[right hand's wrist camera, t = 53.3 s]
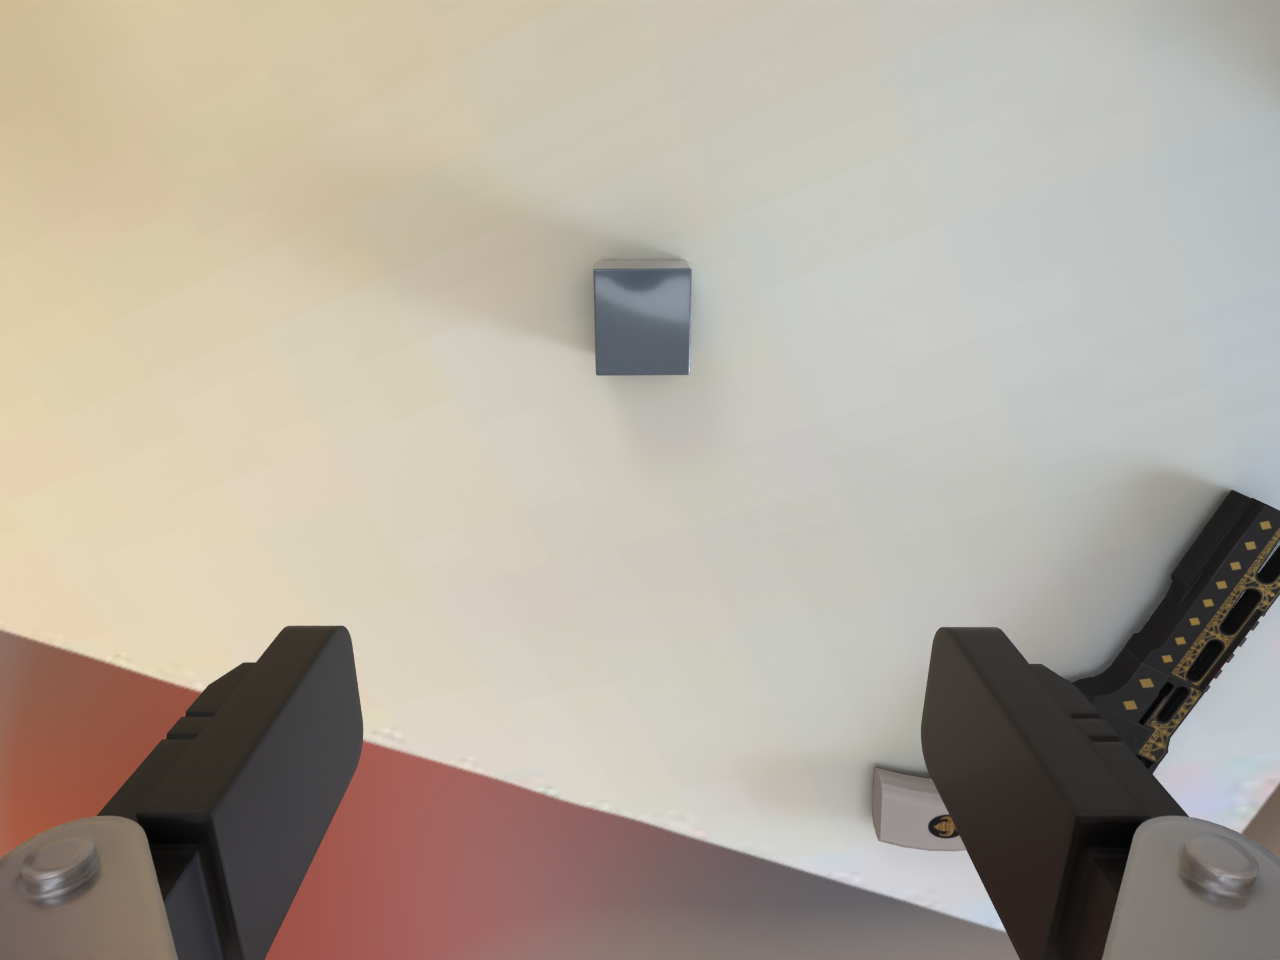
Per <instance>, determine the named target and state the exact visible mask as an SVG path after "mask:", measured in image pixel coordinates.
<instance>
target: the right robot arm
mask: <svg viewBox="0 0 1280 960" xmlns="http://www.w3.org/2000/svg"><path fill="white" fill-rule="evenodd" d="M921 741H922V750H923V755H924V760H925V764H926V767H927V769H928V772H929V774H930V776H931V778H932V780H933V782H934V784H935V786H936V788H937V790H938V792H939V795H940V797H941V799H942V801H943V803H944V805H945V807H946V809H947V811H948V813H949V815H950V817H951V819H952V821H953V823H954V825H955V827H956V829H957V831H958V833H959V835H960V838H961V840H962V842H963V844H964V846H965V848H966V850H967V852H968V854H969V856H970V858H971V860H972V862H973V864H974V866H975V868H976V870H977V872H978V874H979V876H980V878H981V880H982V883H983V885H984V887H985V889H986V891H987V893H988V895H989V897H990V899H991V901H992V903H993V905H994V907H995V909H996V911H997V913H998V915H999V917H1000V919H1001V921H1002V923H1003V926H1004V928H1005V930H1006V932H1007V934H1008V936H1009V938H1010V940H1011V942H1012V944H1013V946H1014V948H1015V950H1016V952H1017V954H1018V956H1019V958H1020V960H1280V859H1279V858H1278V857H1277V856H1275V855H1274V854H1273V853H1271V852H1270V851H1269V850H1267V849H1266V848H1265V847H1263V846H1261V845H1260V844H1258V843H1256V842H1255V841H1253V840H1252V839H1250V838H1248V837H1246V836H1244V835H1242V834H1240V833H1238V832H1236V831H1234V830H1231V829H1229V828H1226V827H1224V826H1221V825H1218V824H1215V823H1212V822H1209V821H1206V820H1201V819H1197V818H1192V817H1189V816H1188V815H1187V814H1186V813H1185V811H1184V810H1183V809H1182V808H1181V807H1180V806H1179V805H1178V803H1177V802H1176V801H1175V800H1174V799H1173V798H1172V796H1171V795H1170V794H1169V793H1168V792H1167V791H1166V790H1165V788H1164V787H1163V786H1162V785H1161V784H1160V783H1159V781H1158V780H1157V779H1156V778H1155V777H1154V776H1153V774H1152V773H1151V772H1150V771H1149V770H1148V769H1147V768H1146V766H1145V765H1144V764H1143V763H1142V762H1141V761H1140V759H1139V758H1138V757H1137V756H1136V755H1135V754H1134V753H1133V751H1132V750H1131V749H1130V748H1129V747H1128V746H1127V744H1126V743H1125V742H1120V740H1119V735H1118V734H1117V733H1116V732H1115V731H1114V729H1113V728H1112V727H1111V726H1110V725H1109V724H1108V722H1107V721H1106V720H1105V719H1100V713H1099V712H1098V711H1097V710H1096V709H1095V707H1094V706H1093V705H1092V704H1091V703H1090V702H1089V700H1088V699H1087V698H1086V697H1085V696H1084V695H1083V694H1082V692H1081V691H1080V690H1079V689H1078V688H1077V687H1076V686H1075V685H1073V684H1071V683H1070V682H1068V681H1067V680H1065V679H1064V678H1062V677H1061V676H1059V675H1058V674H1056V673H1054V672H1053V671H1051V670H1050V669H1048V668H1047V667H1045V666H1044V665H1042V664H1029V663H1028V662H1027V661H1026V660H1025V658H1024V657H1023V656H1022V655H1021V653H1020V652H1019V651H1018V650H1017V648H1016V647H1015V646H1014V645H1013V643H1012V642H1011V641H1010V640H1009V638H1008V637H1007V636H1006V635H1005V634H1004V632H1003V631H1002V630H1001V629H999V628H996V627H942V628H940V629H938V631H937V632H936V634H935V637H934V640H933V645H932V652H931V659H930V666H929V673H928V680H927V687H926V694H925V701H924V709H923V716H922V724H921ZM362 742H363V720H362V712H361V705H360V698H359V691H358V683H357V676H356V669H355V662H354V655H353V647H352V641H351V637H350V634H349V632H348V630H347V628H345V627H344V626H287V627H285V628H284V629H283V630H282V631H281V632H280V633H279V634H278V636H277V637H276V638H275V639H274V641H273V642H272V643H271V644H270V646H269V647H268V648H267V650H266V651H265V652H264V653H263V655H262V656H261V657H260V658H259V660H258V661H257V662H256V663H242V664H241V665H239V666H238V667H236V668H234V669H233V670H231V671H230V672H228V673H227V674H225V675H224V676H222V677H221V678H219V679H217V680H216V681H214V682H213V683H211V684H210V685H208V686H207V688H206V689H205V690H204V691H203V692H202V693H201V695H200V696H199V697H198V698H197V699H196V700H195V702H194V703H193V704H192V705H191V706H190V707H189V709H188V710H187V711H186V716H185V717H181V718H180V719H179V720H178V721H177V723H176V724H175V725H174V726H173V727H172V729H171V730H170V731H169V732H168V733H167V738H166V740H161V741H160V743H159V744H158V745H157V746H156V747H155V748H154V750H153V751H152V752H151V753H150V754H149V755H148V757H147V758H146V759H145V760H144V761H143V762H142V764H141V765H140V766H139V767H138V768H137V769H136V771H135V772H134V773H133V774H132V775H131V776H130V778H129V779H128V780H127V781H126V782H125V783H124V785H123V786H122V787H121V788H120V789H119V790H118V792H117V793H116V794H115V795H114V796H113V797H112V799H111V800H110V801H109V802H108V803H107V804H106V806H105V807H104V808H103V809H102V810H101V811H100V813H99V814H98V815H97V816H95V817H88V818H83V819H79V820H74V821H71V822H68V823H65V824H62V825H59V826H56V827H54V828H51V829H49V830H46V831H44V832H42V833H40V834H38V835H36V836H34V837H32V838H30V839H28V840H27V841H25V842H23V843H22V844H20V845H19V846H17V847H15V848H14V849H13V850H11V851H10V852H9V853H7V854H6V855H5V856H3V857H2V858H1V859H0V960H264V959H265V957H266V955H267V953H268V951H269V949H270V947H271V945H272V943H273V941H274V939H275V937H276V935H277V933H278V930H279V928H280V926H281V924H282V922H283V920H284V918H285V916H286V914H287V912H288V910H289V908H290V906H291V904H292V901H293V899H294V897H295V895H296V893H297V891H298V889H299V887H300V885H301V883H302V881H303V879H304V877H305V875H306V872H307V870H308V868H309V866H310V864H311V862H312V860H313V858H314V856H315V854H316V852H317V850H318V848H319V846H320V843H321V841H322V839H323V837H324V835H325V833H326V831H327V829H328V827H329V825H330V823H331V821H332V819H333V817H334V814H335V812H336V810H337V808H338V806H339V804H340V802H341V800H342V798H343V796H344V794H345V792H346V790H347V787H348V785H349V783H350V781H351V779H352V777H353V775H354V773H355V771H356V768H357V766H358V763H359V759H360V755H361V750H362Z"/></svg>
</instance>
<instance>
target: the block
mask: <svg viewBox="0 0 1280 960" xmlns="http://www.w3.org/2000/svg"><path fill="white" fill-rule="evenodd" d="M593 273H594V314H595V355H596V375H689V374H690V329H691V268H690V266H689V265H688V263H687V261H686V260H685V259H637V260H598V262H597V264H596V266H595V268H594V270H593Z"/></svg>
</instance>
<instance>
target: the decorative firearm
mask: <svg viewBox="0 0 1280 960" xmlns="http://www.w3.org/2000/svg"><path fill="white" fill-rule="evenodd" d="M1279 540H1280V511H1279V510H1277V509H1275V508H1273V507H1271V506H1269V505H1266V504H1264V503H1262V502H1260V501H1258V500H1256V499H1253V498H1249V497H1247V496H1244V495H1242V494H1240V493H1238V492H1236V491H1233V490H1231V492H1230V493H1229V495H1228V496H1227V497H1226V499H1225V500H1224V502H1223V503H1222V504H1221V506H1220V507H1219V509H1218V510H1217V511H1216V513H1215V514H1214V516H1213V517H1212V518H1211V520H1210V521H1209V523H1208V524H1207V525H1206V527H1205V528H1204V530H1203V531H1202V532H1201V534H1200V535H1199V537H1198V538H1197V539H1196V541H1195V542H1194V544H1193V545H1192V546H1191V548H1190V549H1189V551H1188V552H1187V553H1186V555H1185V556H1184V558H1183V559H1182V560H1181V562H1180V563H1179V565H1178V566H1177V567H1176V569H1175V570H1174V572H1173V573H1172V574H1171V579H1172V580H1173V582H1172V584H1171V587H1170V589H1169V591H1168V593H1167V596H1166V597H1165V598H1164V600H1163V601H1162V603H1161V604H1160V605H1159V607H1158V608H1157V610H1156V611H1155V612H1154V614H1153V615H1152V617H1151V618H1150V619H1149V621H1148V622H1147V623H1146V625H1145V626H1144V628H1143V629H1142V630H1141V632H1139V633H1136V634H1133V636H1132V637H1131V639H1130V640H1129V641H1128V643H1127V644H1126V646H1125V647H1124V648H1123V650H1122V651H1121V653H1120V654H1119V655H1118V657H1117V658H1116V660H1115V661H1114V662H1113V664H1112V665H1111V666H1110V667H1109V668H1108V669H1106V670H1105V671H1104V672H1103V673H1102V674H1100V675H1098V676H1095V677H1090V678H1085V679H1081V680H1078V681H1076V682H1074V683H1072V684H1073V685H1075V686H1076V687H1077V688H1078V689H1079V690H1080V691H1081V692H1082V694H1083V695H1084V696H1085V697H1086V698H1087V699H1088V700H1089V702H1090V703H1091V704H1092V705H1093V706H1094V707H1095V709H1096V710H1097V711H1098V712H1099V713H1100V719H1105V720H1106V721H1107V722H1108V724H1109V725H1110V726H1111V727H1112V728H1113V729H1114V731H1115V732H1116V733H1117V734H1118V735H1119V740H1120V742H1125V743H1126V744H1127V746H1128V747H1129V748H1130V749H1131V750H1132V751H1133V753H1134V754H1135V755H1136V756H1137V757H1138V758H1139V759H1140V761H1141V762H1142V763H1143V764H1144V765H1145V766H1146V768H1147V769H1148V770H1149V771H1150V772H1151V773H1152V774H1153V772H1154V771H1155V769H1156V768H1157V766H1158V765H1159V763H1160V762H1161V761H1162V759H1163V758H1164V757H1165V756H1166V754H1167V753H1168V746H1169V742H1170V738H1171V736H1172V735H1173V734H1174V732H1175V731H1176V730H1177V728H1178V727H1179V726H1180V725H1181V723H1182V722H1183V721H1184V719H1185V718H1186V717H1187V715H1188V714H1189V713H1190V711H1191V710H1192V709H1193V707H1194V706H1195V705H1196V704H1197V702H1198V701H1199V700H1200V698H1201V697H1202V696H1203V694H1204V693H1205V692H1207V690H1208V689H1209V688H1210V686H1209V683H1210V682H1211V681H1212V679H1213V678H1215V679H1217V677H1218V676H1219V675H1220V673H1221V672H1222V670H1221V668H1222V666H1223V665H1224V664H1225V662H1227V663H1229V662H1230V660H1231V659H1232V658H1233V656H1234V654H1233V652H1234V651H1235V649H1236V648H1237V647H1238V646H1240V647H1241V646H1242V645H1243V643H1244V642H1245V641H1246V639H1247V638H1245V636H1246V635H1247V634H1248V632H1249V631H1250V630H1254V629H1255V628H1256V626H1257V625H1258V624H1259V622H1258V621H1257V620H1258V619H1259V618H1260V616H1263V617H1264V616H1265V613H1266V612H1267V611H1268V609H1269V608H1270V607H1271V605H1272V604H1273V603H1274V601H1275V600H1276V599H1277V597H1278V596H1279V595H1280V546H1279V547H1278V548H1277V550H1276V551H1275V552H1274V554H1273V555H1272V556H1271V558H1270V559H1269V560H1268V562H1267V563H1266V564H1265V566H1264V567H1263V568H1262V570H1261V571H1260V572H1259V573H1258V571H1259V569H1260V568H1261V566H1262V565H1263V563H1264V562H1265V561H1266V559H1267V558H1268V556H1269V555H1270V553H1271V552H1272V550H1273V549H1274V547H1275V546H1276V544H1277V543H1278V541H1279ZM1257 573H1258V574H1257ZM1245 590H1246V591H1245ZM1244 591H1245V592H1244ZM1243 592H1244V594H1243V595H1242V593H1243ZM1241 595H1242V596H1241ZM1240 596H1241V598H1240ZM1239 598H1240V599H1239ZM1238 599H1239V601H1238ZM1237 601H1238V602H1237ZM1236 602H1237V603H1236ZM1235 604H1236V605H1235ZM1234 605H1235V606H1234ZM1232 608H1233V609H1232ZM873 823H874V828H875V831H876V835H877V838H878V840H879V841H881V842H885V843H889V844H893V845H897V846H901V847H907V848H914V849H922V850H929V851H962V850H966V848H965V846H964V844H963V842H962V840H961V838H960V835H959V833H958V831H957V829H956V827H955V825H954V823H953V821H952V819H951V817H950V815H949V813H948V811H947V809H946V807H945V805H944V803H943V801H942V799H941V797H940V795H939V792H938V790H937V788H936V786H935V784H934V782H933V780H932V778H923V777H917V776H910V775H904V774H900V773H896V772H892V771H887V770H883V769H879V768H875V769H874V788H873Z"/></svg>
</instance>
